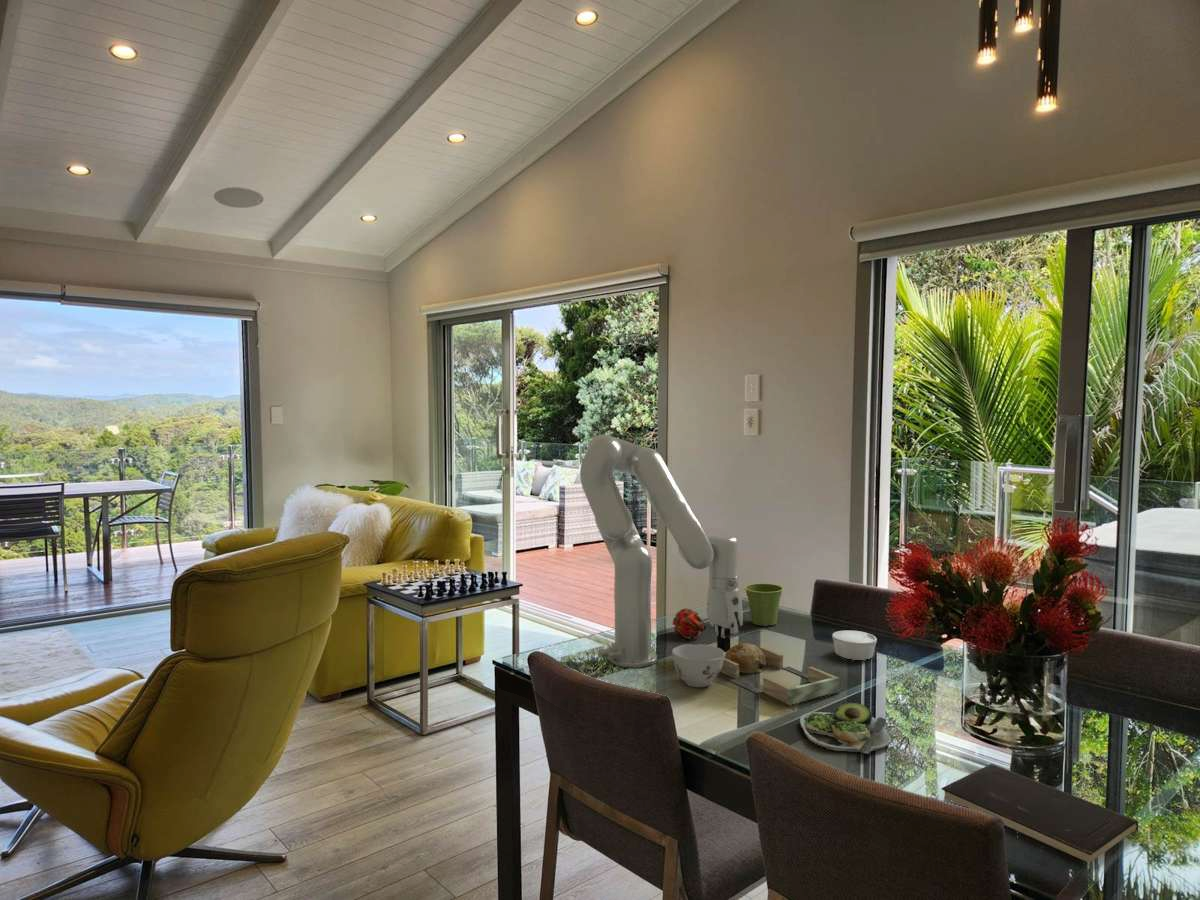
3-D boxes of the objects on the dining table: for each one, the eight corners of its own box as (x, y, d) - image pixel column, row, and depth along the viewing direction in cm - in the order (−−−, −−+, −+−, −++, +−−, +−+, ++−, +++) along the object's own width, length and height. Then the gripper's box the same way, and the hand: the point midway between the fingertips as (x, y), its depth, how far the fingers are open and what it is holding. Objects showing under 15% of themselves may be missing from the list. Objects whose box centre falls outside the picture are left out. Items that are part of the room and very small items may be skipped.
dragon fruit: (680, 634, 228) (699, 652, 217) (660, 621, 224) (678, 638, 213) (697, 611, 228) (716, 627, 217) (677, 597, 225) (696, 613, 214)
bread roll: (747, 690, 188) (760, 664, 186) (714, 665, 194) (726, 639, 191) (764, 678, 196) (777, 653, 194) (732, 655, 202) (743, 630, 199)
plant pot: (760, 616, 241) (760, 581, 241) (791, 624, 232) (791, 587, 232) (735, 623, 234) (736, 587, 233) (767, 631, 225) (767, 594, 224)
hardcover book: (1089, 868, 110) (1090, 853, 110) (941, 800, 129) (941, 787, 129) (1138, 833, 119) (1138, 818, 118) (992, 774, 138) (993, 762, 138)
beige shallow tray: (783, 707, 168) (783, 691, 168) (709, 670, 192) (709, 657, 192) (845, 691, 177) (845, 676, 177) (767, 658, 201) (767, 645, 201)
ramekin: (882, 662, 197) (882, 642, 197) (839, 662, 197) (839, 642, 197) (868, 649, 208) (868, 630, 208) (827, 649, 208) (827, 630, 208)
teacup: (734, 688, 180) (734, 654, 179) (688, 696, 175) (688, 662, 174) (701, 668, 194) (701, 637, 193) (658, 675, 189) (657, 643, 188)
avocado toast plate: (909, 763, 142) (910, 739, 142) (812, 760, 144) (812, 736, 143) (880, 721, 161) (881, 699, 161) (795, 718, 163) (795, 697, 163)
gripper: (753, 586, 196) (753, 656, 197) (717, 575, 209) (717, 641, 210) (730, 590, 193) (730, 661, 194) (695, 579, 206) (695, 645, 207)
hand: (723, 650), depth 202 cm, fingers closed
